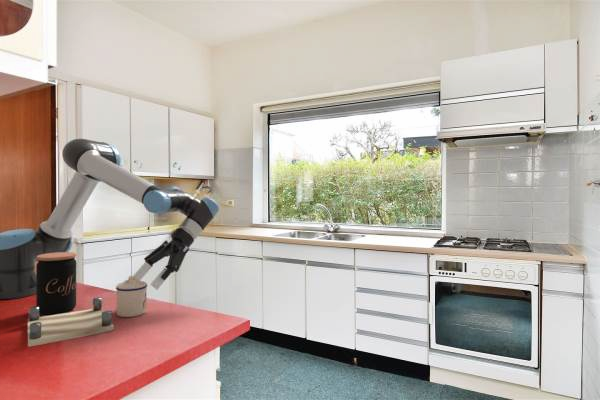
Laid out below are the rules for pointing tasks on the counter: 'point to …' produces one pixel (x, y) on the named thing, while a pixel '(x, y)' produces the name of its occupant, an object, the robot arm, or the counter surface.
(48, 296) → the coffee jar
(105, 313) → the set of grey pegs
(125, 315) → the teacup with lid
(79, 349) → the counter surface
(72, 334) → the birch board
